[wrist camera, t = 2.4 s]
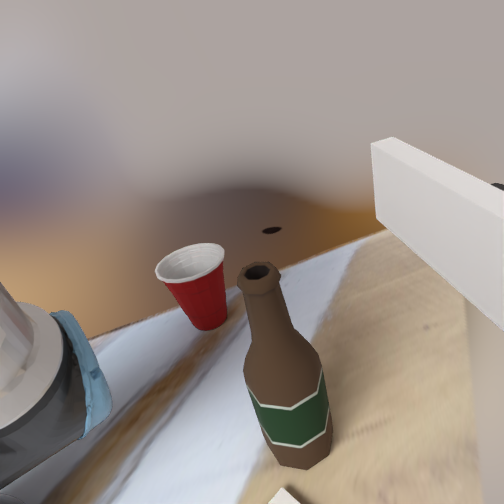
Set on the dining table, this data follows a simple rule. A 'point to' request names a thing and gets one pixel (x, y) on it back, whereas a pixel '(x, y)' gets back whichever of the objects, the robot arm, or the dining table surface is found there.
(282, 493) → the tile
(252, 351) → the beer bottle
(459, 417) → the dining table surface
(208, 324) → the plastic cup
